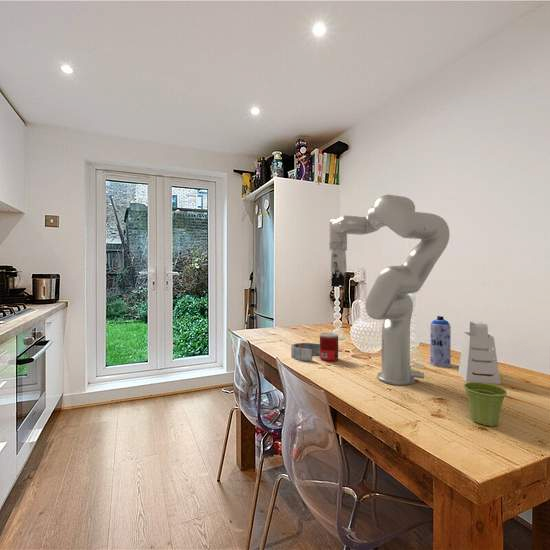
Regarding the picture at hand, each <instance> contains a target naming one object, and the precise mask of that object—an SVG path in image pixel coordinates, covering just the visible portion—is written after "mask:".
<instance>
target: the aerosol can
mask: <svg viewBox="0 0 550 550" xmlns="http://www.w3.org/2000/svg"><path fill="white" fill-rule="evenodd" d="M429 326H430V335H429V336H430V338H429V339H430V340H429V341H430V345H429V347H430V350H429V351H430V352H429V353H430V354H429V355H430V357H429V358H430V359H429V360H430V361H429V365H431V366H433V367H437V368H450V367H452V364H451V357H452V356H451V352H452V351H451V350H452V349H451V346H452V345H451V340H452V339H451V337H452V335H451V333H452V332H451V331H452V330H451V328H452V326H451V323H449V321H448V320H446V319H444V316H443V315H442V316H441V315H437V318H436V319H434V320H432V322H430V325H429Z"/></svg>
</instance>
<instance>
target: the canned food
mask: <svg viewBox="0 0 550 550" xmlns="http://www.w3.org/2000/svg"><path fill="white" fill-rule="evenodd" d="M319 344H320V355H319V359H320V360H321V361H322V362H330V363H331V362H333V363H334V362H337V361H338V360H339V334H337V333H333V332H324V333H320V334H319Z"/></svg>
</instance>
